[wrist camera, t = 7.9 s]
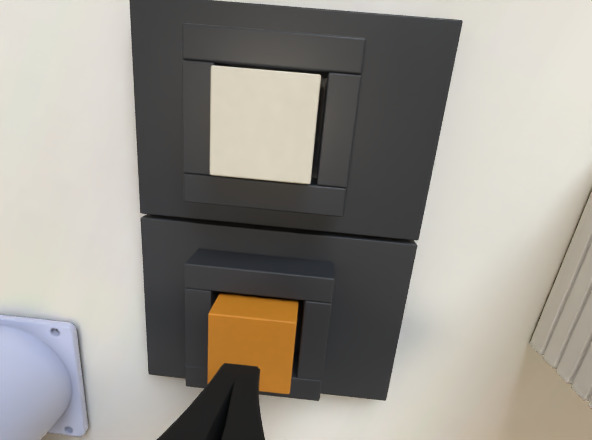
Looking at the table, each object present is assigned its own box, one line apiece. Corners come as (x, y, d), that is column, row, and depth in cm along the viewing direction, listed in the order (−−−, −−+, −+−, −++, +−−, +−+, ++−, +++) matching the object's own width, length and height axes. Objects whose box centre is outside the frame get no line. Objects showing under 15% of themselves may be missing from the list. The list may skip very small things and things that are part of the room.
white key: (221, 168, 14) (209, 175, 12) (224, 72, 13) (210, 64, 11) (310, 176, 14) (310, 184, 12) (320, 80, 12) (321, 74, 11)
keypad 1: (158, 359, 20) (131, 400, 17) (152, 211, 17) (118, 229, 14) (381, 384, 19) (393, 430, 16) (410, 236, 17) (430, 260, 14)
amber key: (218, 358, 16) (206, 386, 15) (219, 292, 15) (207, 313, 14) (292, 366, 16) (289, 395, 14) (298, 300, 15) (296, 322, 13)
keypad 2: (151, 207, 17) (118, 225, 14) (143, 3, 14) (100, -26, 11) (411, 232, 17) (431, 255, 14) (451, 27, 14) (486, 4, 11)
